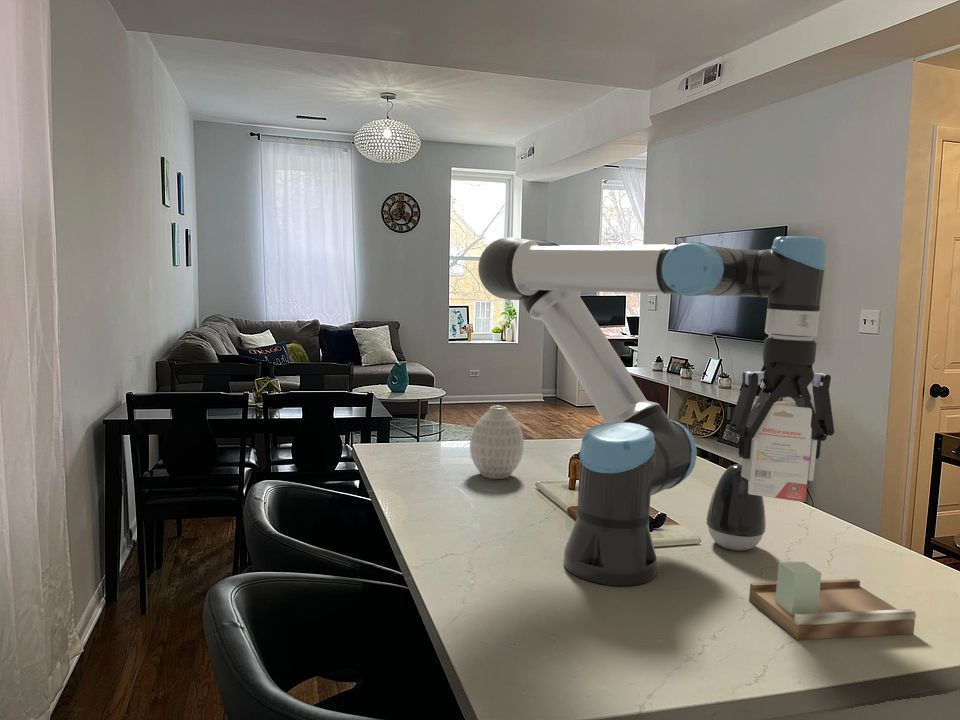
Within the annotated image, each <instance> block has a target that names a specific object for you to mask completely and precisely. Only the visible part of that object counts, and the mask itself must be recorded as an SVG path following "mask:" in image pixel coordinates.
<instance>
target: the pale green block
mask: <svg viewBox="0 0 960 720" xmlns="http://www.w3.org/2000/svg"><path fill="white" fill-rule="evenodd" d="M776 576H777V577H776V579H777V580H776V582H777V587H776V598H775V603H776V604H778V605H779V606H780V607H782V608H783V609H784V610H785V611H787V612H788V613H789V614H791V615H795V614H812V613H818V604H819V594H820V583H821V580H822V572H821V571H820V570H817V568H815V567H813V566H811V565H810V564H808V563H807V562H805V561H789V562H788V561H787V562H786V561H783V562H782V561H781V562H778V568H777V575H776Z"/></svg>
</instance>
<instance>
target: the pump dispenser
mask: <svg viewBox="0 0 960 720" xmlns="http://www.w3.org/2000/svg"><path fill="white" fill-rule="evenodd" d="M741 471H742V464H741V463H740V464H738V463H735V464H732V465H731V466H729V467H728V468H726V469H725V471H724V472H723V473H722V474H721V476H720V477H719V479H718V481H717V483H716V486H715V488H714V490H713V492H712V495H711V498H710V502H709V506H708V509H707V514H706V515H707V516H706V521H705V522H706V526H708V527H707V528H708V533H709V535H710V536H711V538H712V540H713V541H714V542H715V543H716V544H717V545H719V546H720V547H722V548H725V549H726V550H729V551H737V552H738V551H742V552H743V551H748V550H750V549H753V548H755V547H756V546H757V545H758V544H759V543H760V542H761V540H762V538H763V535H764V534H765V533H766V530H767V529H766V527H767V525H766V524H767V523H766V522H767V521H766V508H765V502H764V496H757V495H750V494H748V481H749V480H747V479H745V478H743V477H741Z"/></svg>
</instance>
